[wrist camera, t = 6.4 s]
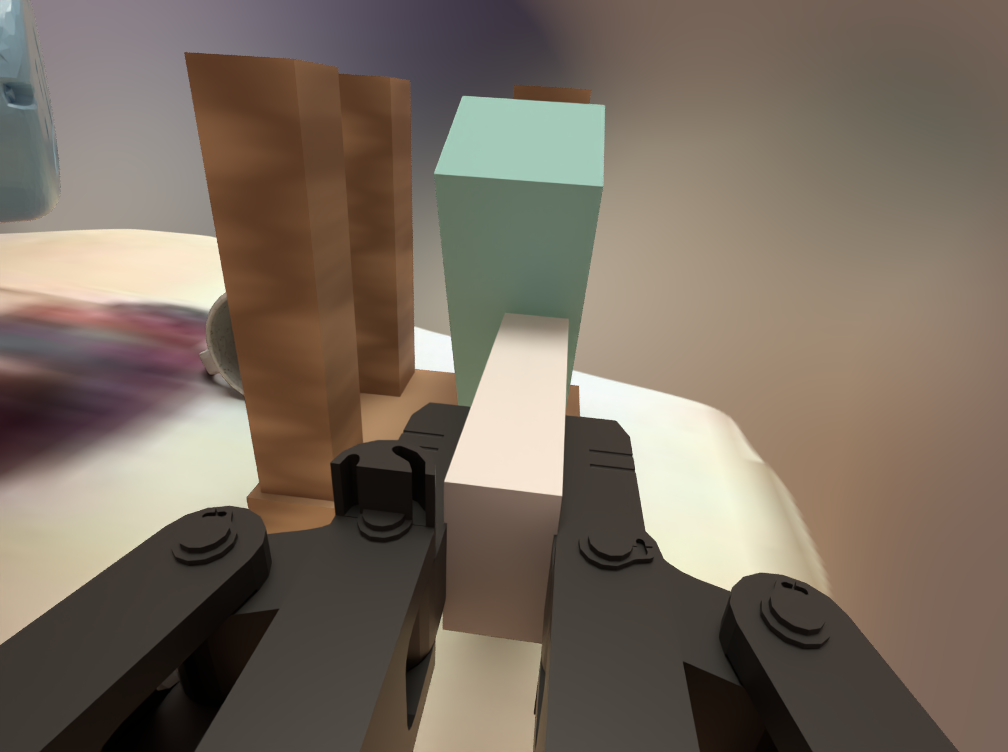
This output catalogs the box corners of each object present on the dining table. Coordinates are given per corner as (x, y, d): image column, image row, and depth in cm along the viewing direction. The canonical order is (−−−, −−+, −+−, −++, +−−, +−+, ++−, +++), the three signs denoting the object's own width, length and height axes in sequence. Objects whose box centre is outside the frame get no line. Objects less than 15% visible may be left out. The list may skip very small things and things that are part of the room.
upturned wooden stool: (257, 553, 23) (161, 49, 15) (361, 405, 35) (340, 76, 27) (574, 594, 22) (657, 80, 14) (573, 428, 34) (618, 94, 26)
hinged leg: (467, 512, 22) (428, 173, 10) (478, 445, 24) (458, 95, 12) (549, 522, 22) (608, 186, 10) (555, 454, 24) (609, 105, 12)
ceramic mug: (377, 362, 41) (370, 260, 37) (324, 415, 34) (309, 295, 30) (249, 345, 42) (232, 247, 39) (172, 393, 35) (143, 277, 32)
